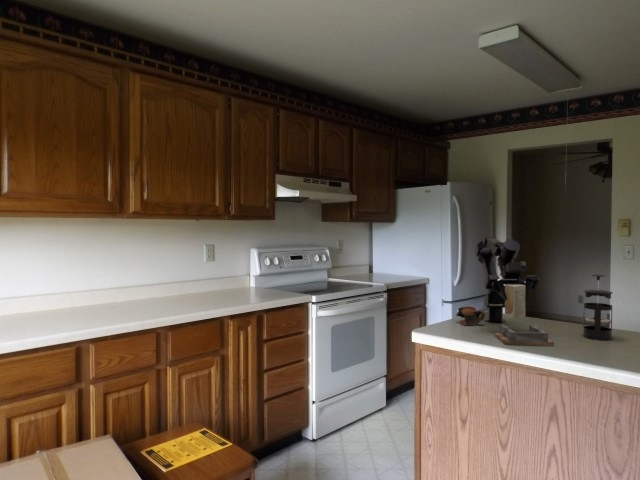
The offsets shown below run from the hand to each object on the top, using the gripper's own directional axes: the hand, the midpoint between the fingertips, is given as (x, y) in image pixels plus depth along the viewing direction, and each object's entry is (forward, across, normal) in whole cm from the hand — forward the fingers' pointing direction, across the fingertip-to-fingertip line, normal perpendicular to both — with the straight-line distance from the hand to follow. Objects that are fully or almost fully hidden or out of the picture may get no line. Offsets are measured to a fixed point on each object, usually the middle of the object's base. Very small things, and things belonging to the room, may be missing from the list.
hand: (516, 300), depth 169 cm
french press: (+9, +29, +10) cm, 32 cm away
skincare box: (+4, 0, +6) cm, 7 cm away
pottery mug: (-4, -12, +23) cm, 27 cm away
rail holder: (+15, 0, +4) cm, 15 cm away
